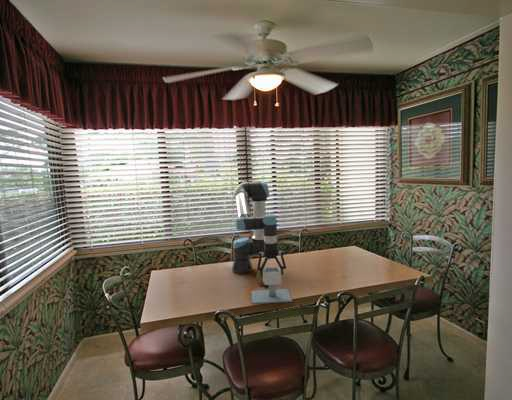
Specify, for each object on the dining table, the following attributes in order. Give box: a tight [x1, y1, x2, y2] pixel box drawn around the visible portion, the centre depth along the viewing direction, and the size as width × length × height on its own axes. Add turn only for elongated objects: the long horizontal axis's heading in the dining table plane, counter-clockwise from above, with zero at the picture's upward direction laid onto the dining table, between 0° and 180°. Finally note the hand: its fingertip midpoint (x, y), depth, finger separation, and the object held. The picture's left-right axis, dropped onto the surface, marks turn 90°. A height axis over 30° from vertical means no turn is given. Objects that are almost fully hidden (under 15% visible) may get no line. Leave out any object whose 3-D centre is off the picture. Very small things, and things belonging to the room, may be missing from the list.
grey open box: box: [263, 266, 282, 285], centre depth 168 cm, size 9×9×7 cm
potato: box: [256, 270, 269, 287], centre depth 188 cm, size 8×13×8 cm, turn 10°
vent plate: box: [251, 284, 293, 305], centre depth 169 cm, size 16×22×8 cm
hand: (272, 280), depth 168 cm, fingers closed on grey open box, 9 cm apart
